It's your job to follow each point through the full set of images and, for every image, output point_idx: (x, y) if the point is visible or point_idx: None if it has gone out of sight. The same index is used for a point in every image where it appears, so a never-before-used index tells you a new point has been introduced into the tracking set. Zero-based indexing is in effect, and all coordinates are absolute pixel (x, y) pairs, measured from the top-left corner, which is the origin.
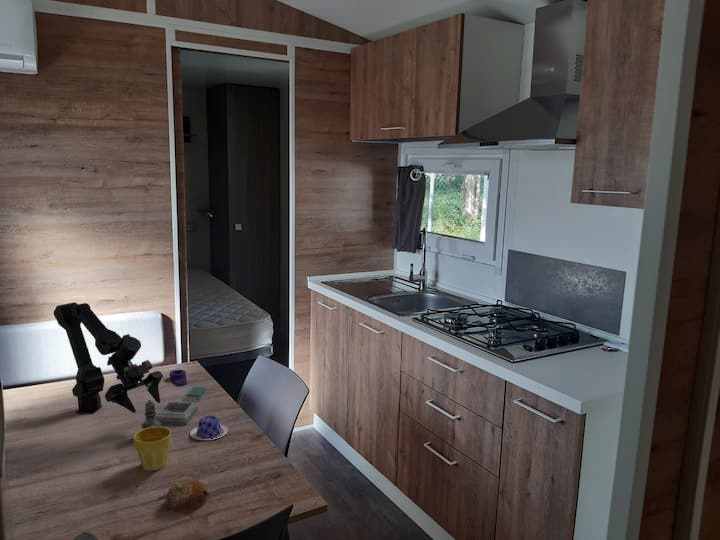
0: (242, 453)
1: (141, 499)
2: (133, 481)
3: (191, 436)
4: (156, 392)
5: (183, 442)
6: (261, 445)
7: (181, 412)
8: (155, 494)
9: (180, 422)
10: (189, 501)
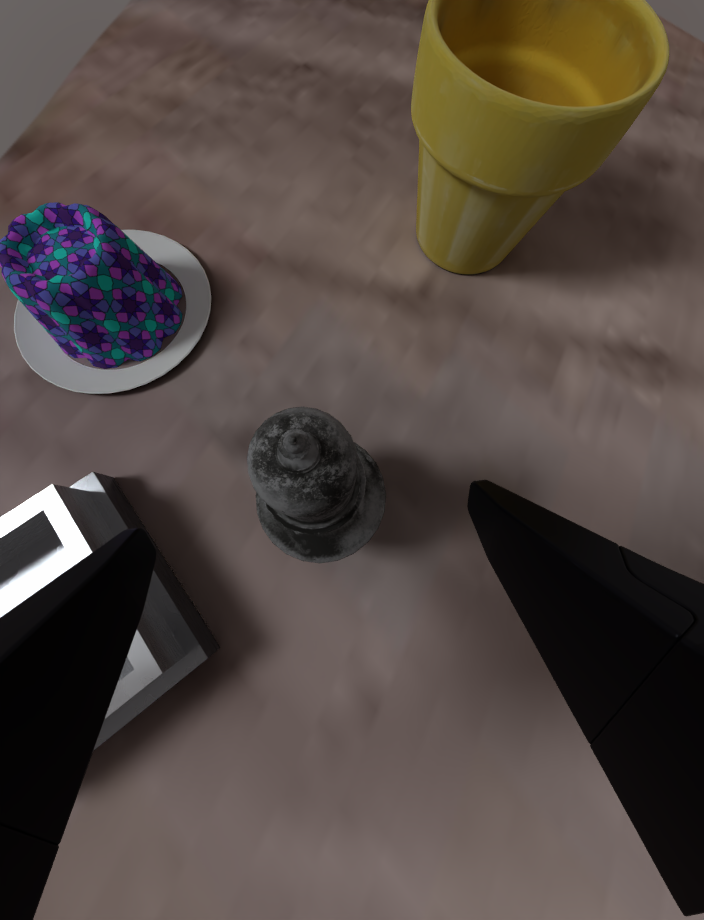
0: (174, 100)
1: None
2: (571, 196)
3: (206, 322)
4: (14, 641)
5: (265, 315)
6: (81, 97)
7: None
8: None
9: (124, 506)
10: None
